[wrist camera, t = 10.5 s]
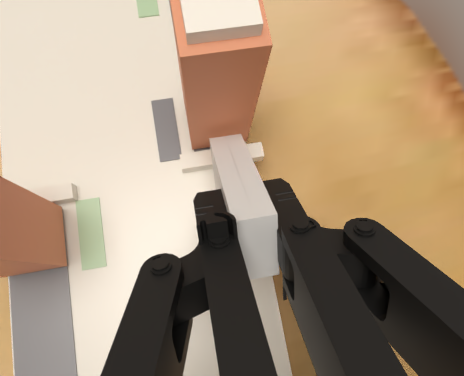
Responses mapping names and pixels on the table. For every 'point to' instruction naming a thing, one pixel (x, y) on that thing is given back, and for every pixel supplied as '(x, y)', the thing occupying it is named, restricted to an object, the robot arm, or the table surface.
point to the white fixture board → (103, 175)
